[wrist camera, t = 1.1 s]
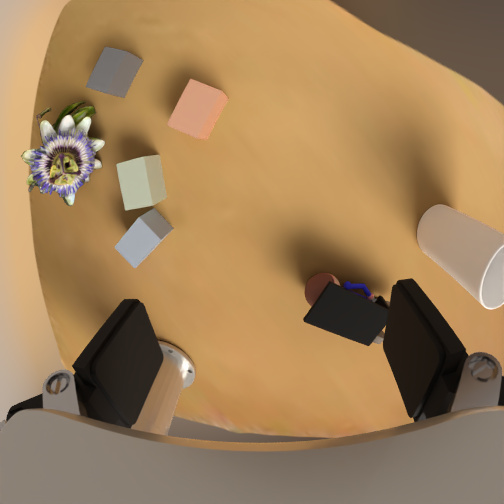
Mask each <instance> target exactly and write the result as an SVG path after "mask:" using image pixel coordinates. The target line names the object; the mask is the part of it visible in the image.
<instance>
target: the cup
mask: <svg viewBox="0 0 504 504" xmlns="http://www.w3.org/2000/svg"><path fill="white" fill-rule="evenodd" d="M417 241H418V244H419V247H420V248H421V250H422V251H423V252H424V253H425V254H426V255H428V256H429V257H430V258H431V259H432V260H433V261H435V262H436V263H437V264H438V265H439V266H441V267H442V268H443V269H444V270H445V271H446V272H447V273H449V274H450V275H451V276H452V277H453V278H454V279H455V280H456V281H457V282H458V283H460V284H461V285H462V286H463V287H464V288H465V289H466V290H467V291H468V292H469V293H470V294H471V295H472V296H473V297H474V298H475V299H477V300H478V301H479V302H480V303H481V304H482V305H483V306H484V307H485V308H487V309H495V308H498V307H499V306H501V305H502V304H504V234H503V233H501V232H499V231H497V230H496V229H494V228H492V227H490V226H488V225H486V224H484V223H482V222H480V221H478V220H476V219H474V218H472V217H470V216H468V215H466V214H464V213H462V212H460V211H457V210H455V209H453V208H451V207H449V206H446V205H443V204H438V205H434V206H432V207H430V208H429V209H428V210H427V211H426V212H425V213H424V214H423V216H422V218H421V219H420V222H419V225H418V229H417Z"/></svg>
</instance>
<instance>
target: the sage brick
mask: <svg viewBox="0 0 504 504" xmlns="http://www.w3.org/2000/svg"><path fill="white" fill-rule="evenodd" d="M116 165H117V171H118V177H119V182H120V187H121V192H122V197H123V202H124V207H125V211H126V210H132V209H137V208H142V207H147V206H153V205H155V204H157V203H158V202H160V201H162V200H164V199H166V198H167V194H166V189H165V183H164V177H163V172H162V166H161V160H160V155H152V156H144V157H140V158H136V159H132V160H129V161H125V162H122V163H118V164H116Z"/></svg>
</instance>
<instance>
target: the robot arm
mask: <svg viewBox="0 0 504 504" xmlns="http://www.w3.org/2000/svg"><path fill="white" fill-rule="evenodd" d="M383 349H384V352H385V354H386V357H387V359H388V362H389V364H390V367H391V369H392V372H393V375H394V377H395V380H396V382H397V385H398V388H399V390H400V393H401V396H402V399H403V402H404V404H405V407H406V410H407V413H408V416H409V417H410V418H412V417H413V419H414V423H410V424H406V425H402V426H398V427H394V428H389V429H385V430H380V431H375V432H370V433H365V434H359V435H353V436H347V437H340V438H332V439H324V440H315V441H301V442H285V443H284V442H282V443H237V442H219V441H206V440H196V439H187V438H180V437H173V436H167V433H168V430H169V427H170V424H171V421H172V418H173V415H174V412H175V409H176V406H177V403H178V400H179V397H180V394H181V391H182V389H184V388H186V387H188V386H190V385H191V384H192V383H193V381H194V379H195V375H196V369H195V366H194V364H193V362H192V360H191V359H190V358H189V357H188V356H187V355H186V354H185V353H184V352H183V351H181V350H180V349H179V348H177V347H175V346H173V345H171V344H169V343H166V342H162V341H158V340H157V338H156V335H155V333H154V330H153V328H152V325H151V322H150V320H149V317H148V314H147V312H146V309H145V306H144V304H143V303H140V301H139V300H138V299H124V300H123V301H122V302H121V303H120V305H119V306H118V307H117V308H116V310H115V311H114V312H113V313H112V314H111V316H110V317H109V318H108V319H107V321H106V322H105V323H104V324H103V326H102V327H101V328H100V330H99V331H98V332H97V333H96V335H95V336H94V337H93V339H92V340H91V341H90V342H89V344H88V345H87V346H86V348H85V349H84V350H83V352H82V353H81V354H80V356H79V357H78V358H77V360H76V361H75V363H74V364H73V365H72V367H73V368H74V370H75V371H76V372H75V374H74V375H73V374H72V373H71V372H70V371H68V370H59V371H56V372H55V373H52V374H51V375H50V376H49V377H48V378H47V379H46V380H45V382H44V384H43V393H42V394H40V395H38V396H35V397H33V398H30V399H28V400H26V401H23V402H21V403H18V404H16V405H14V406H12V407H11V408H10V410H9V412H8V415H7V419H6V421H7V422H6V421H5V420H3V421H2V422H0V504H504V376H502V367H501V365H500V363H499V361H498V360H497V359H496V358H495V357H493V356H492V355H490V354H488V353H484V352H476V353H473V354H471V355H470V356H468V354H467V353H466V349H465V347H464V346H463V344H462V343H461V341H460V340H459V338H458V337H457V335H456V334H455V333H454V331H453V330H452V328H451V327H450V326H449V324H448V323H447V322H446V320H445V319H444V317H443V316H442V315H441V313H440V312H439V311H438V309H437V308H436V307H435V306H434V304H433V303H432V302H431V300H430V299H429V298H428V297H427V295H426V294H425V293H424V292H423V290H422V289H421V288H420V287H419V285H418V284H417V283H416V282H415V281H414V280H413V279H404V280H398V281H397V283H396V285H393V287H392V292H391V299H390V306H389V312H388V318H387V324H386V329H385V334H384V339H383Z"/></svg>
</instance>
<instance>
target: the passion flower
mask: <svg viewBox="0 0 504 504" xmlns="http://www.w3.org/2000/svg"><path fill="white" fill-rule="evenodd" d="M85 102H86V101H80V102H77V103H73V104H72V105H69V106H67V107H66V108H65V109H64V110H63V111H62V113H61V114H60V115H59V117H58V119H57V121H56V123H55V124H53V125H51V124H50V123H49V122H48V121H47V120H43V121H42V122H41V124H39V122H38V117H39V118H42V116H43V115H44V114H45V113H47V112H49V111H51V107H48V108H47V109H46V110H44V111H42V112H41V113H40V114H38V115H37V122H38V125H39V128H40V135H41V138H42V143H43V145H44V146H42V147H41V146H40V147H41V148H40V149H30V150H28V151H25V152H24V153H23V155H21V157H22V159H23V160H24V162H26V163H27V164H29V165H30V166H31V171H32V173H31V174H30V175H29V177H28V179H27V184H28V185H30V184H31V185H30V187H29V190H28V191H29V192H31V190H32V189H33V188H34V186H38V187H39V189H40V193H42V194H44V193H48V191H49V192H50V195H51V193H52V191H56V192H57V193H58V194H59V196H60V197H62V198H63V200H64V201H65V203H66V204H67V205H69V206H72V205H73V204H74V199H75V193H76V192H77V190H78V188H80V187H81V186H82V185H83V184H84V183H85V182H89V181H90V176H89V173H92V172H93V169H99V168H102V163H101V161H99V160H98V159H97V158H94V156H95V155H96V153H95V152H97V151H99V150H100V149H101V148H102V147H103V146H104V144H105V141H104V140H102V139H100V138H97V137H96V138H91V137H89V136H88V130H89V128H90V125H91V118H90V117H91V116H93V115H94V114H96V112H95V108H94V107H93V106H85V107H83V108H80V109H78V110H77V111H76V112H75V113H74V114H72V115H70V114H71V113H72V112H73V111H74V110H75V109H77V107H79V106H80V105H81V104H84V103H85Z"/></svg>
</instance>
